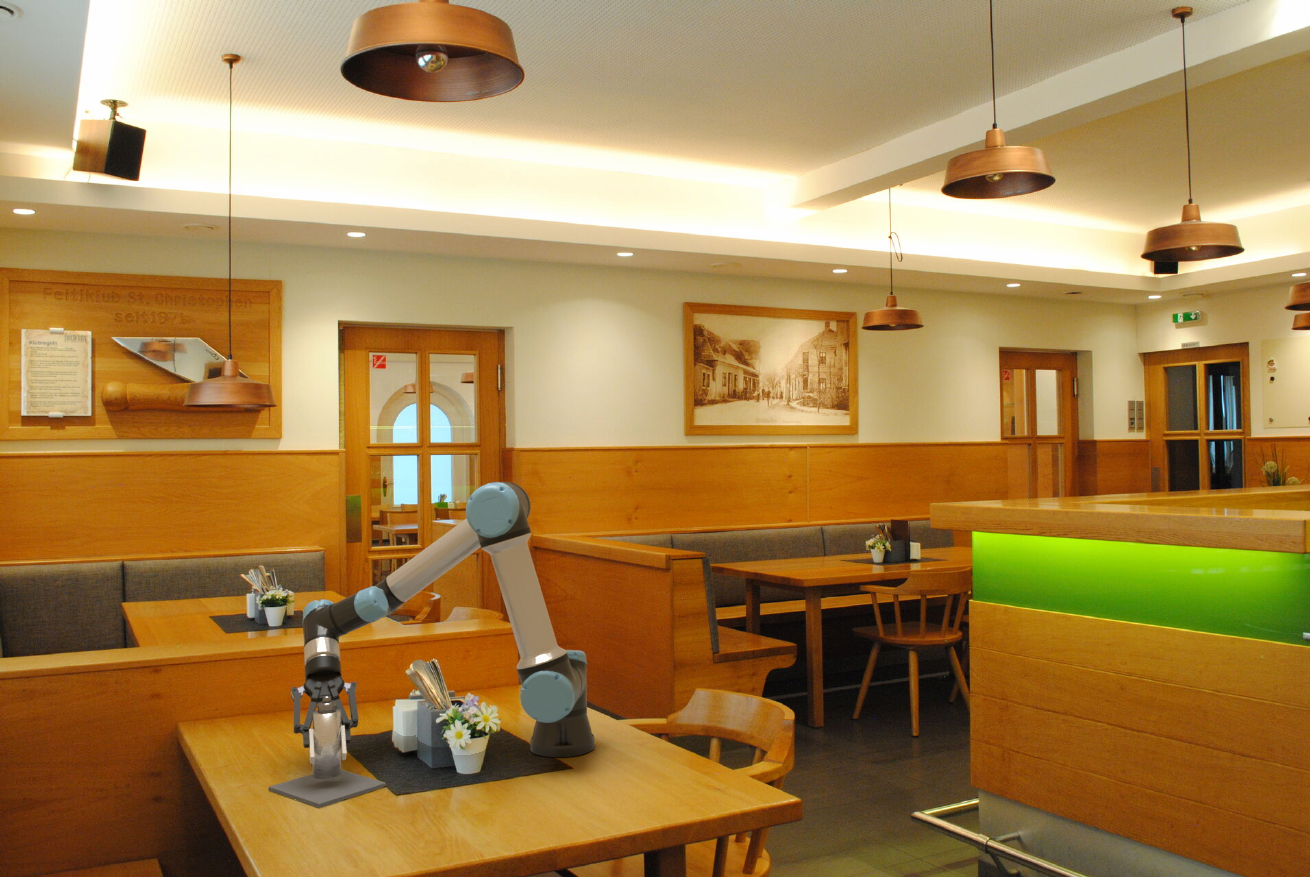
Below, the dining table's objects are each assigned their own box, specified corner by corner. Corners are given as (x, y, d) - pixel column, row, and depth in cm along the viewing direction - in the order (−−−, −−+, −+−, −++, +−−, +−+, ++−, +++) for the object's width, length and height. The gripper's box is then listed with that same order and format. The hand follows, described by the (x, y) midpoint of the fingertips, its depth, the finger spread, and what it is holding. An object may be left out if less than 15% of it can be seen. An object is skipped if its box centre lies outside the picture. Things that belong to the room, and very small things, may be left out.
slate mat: (386, 786, 210) (386, 782, 210) (319, 808, 197) (319, 803, 197) (335, 771, 221) (335, 767, 221) (268, 790, 208) (268, 786, 208)
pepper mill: (346, 773, 210) (346, 694, 210) (323, 780, 205) (323, 700, 205) (330, 768, 213) (330, 691, 213) (307, 775, 209) (307, 696, 209)
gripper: (365, 669, 227) (373, 762, 212) (277, 677, 220) (279, 773, 205) (367, 650, 222) (376, 743, 207) (278, 657, 215) (280, 754, 200)
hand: (328, 758), depth 206 cm, fingers closed on pepper mill, 6 cm apart
